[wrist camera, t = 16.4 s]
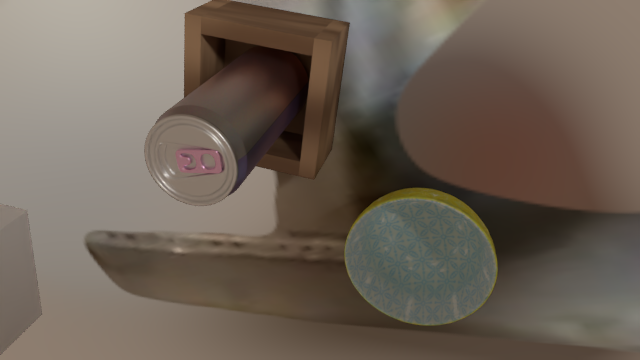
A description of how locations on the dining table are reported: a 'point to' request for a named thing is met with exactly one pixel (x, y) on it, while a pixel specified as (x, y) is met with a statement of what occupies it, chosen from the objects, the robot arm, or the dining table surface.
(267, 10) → the wooden box
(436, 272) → the bowl
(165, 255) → the dining table surface
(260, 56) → the beverage can
